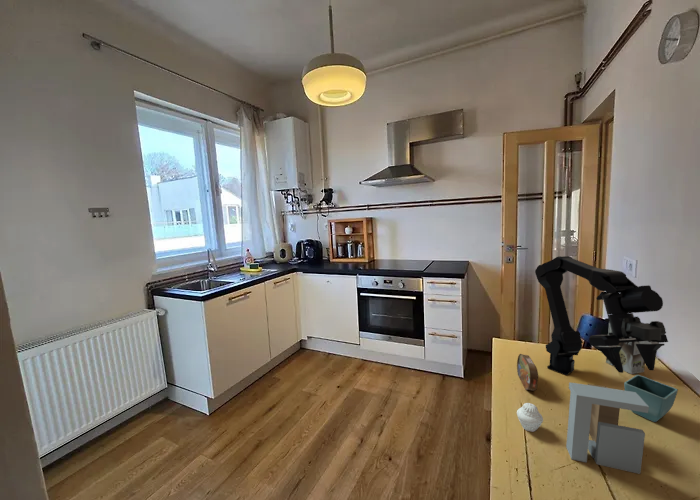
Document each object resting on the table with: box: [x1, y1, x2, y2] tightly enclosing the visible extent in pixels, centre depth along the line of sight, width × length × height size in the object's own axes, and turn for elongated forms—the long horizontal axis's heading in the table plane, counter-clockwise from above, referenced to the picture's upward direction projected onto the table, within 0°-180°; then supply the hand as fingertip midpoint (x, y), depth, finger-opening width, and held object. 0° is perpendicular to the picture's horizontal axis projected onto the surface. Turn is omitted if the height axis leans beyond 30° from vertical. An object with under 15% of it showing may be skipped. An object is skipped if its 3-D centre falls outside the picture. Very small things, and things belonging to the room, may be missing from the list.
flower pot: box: [623, 374, 679, 423], centre depth 87 cm, size 9×9×9 cm
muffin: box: [516, 402, 544, 433], centre depth 83 cm, size 6×6×7 cm
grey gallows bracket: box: [565, 382, 649, 475], centre depth 72 cm, size 6×13×16 cm, turn 69°
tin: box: [516, 353, 539, 392], centre depth 104 cm, size 15×3×8 cm, turn 164°
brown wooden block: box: [587, 383, 621, 442], centre depth 79 cm, size 8×4×12 cm, turn 159°
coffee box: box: [605, 322, 646, 375], centre depth 112 cm, size 9×6×16 cm
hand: (636, 371), depth 85 cm, fingers open, 9 cm apart
